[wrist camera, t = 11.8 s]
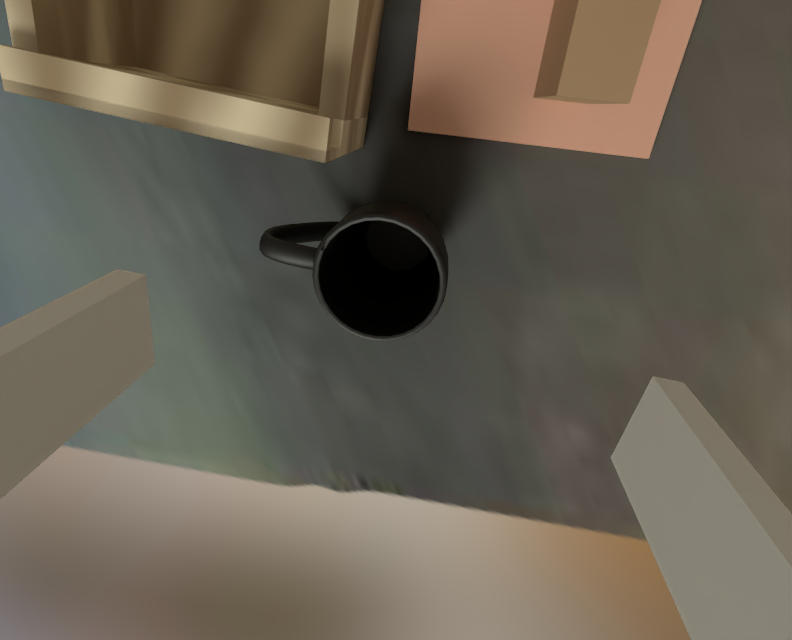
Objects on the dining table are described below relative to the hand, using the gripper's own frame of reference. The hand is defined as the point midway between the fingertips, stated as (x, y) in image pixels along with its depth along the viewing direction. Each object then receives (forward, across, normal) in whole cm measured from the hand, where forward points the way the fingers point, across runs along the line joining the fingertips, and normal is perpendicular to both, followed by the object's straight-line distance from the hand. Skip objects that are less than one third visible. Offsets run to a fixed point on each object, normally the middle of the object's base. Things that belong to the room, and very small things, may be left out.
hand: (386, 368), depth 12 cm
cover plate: (+24, +5, +12) cm, 28 cm away
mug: (+24, -4, -4) cm, 25 cm away
